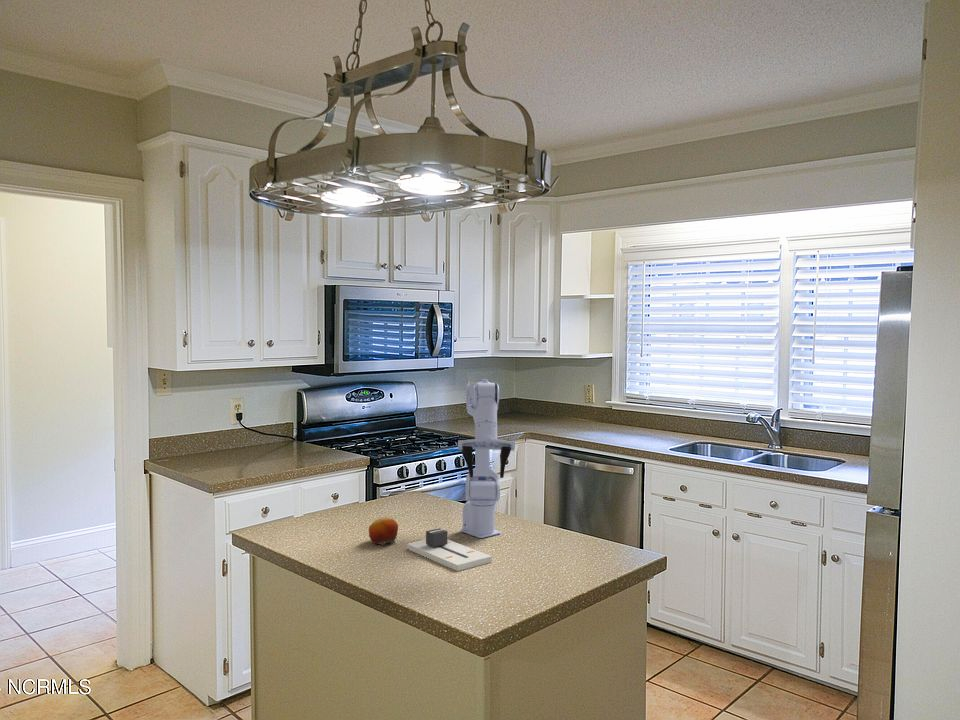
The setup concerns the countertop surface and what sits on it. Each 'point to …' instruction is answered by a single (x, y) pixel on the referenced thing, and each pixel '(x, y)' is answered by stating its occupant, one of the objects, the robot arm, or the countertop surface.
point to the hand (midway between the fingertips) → (486, 476)
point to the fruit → (383, 531)
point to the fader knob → (436, 537)
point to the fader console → (451, 554)
